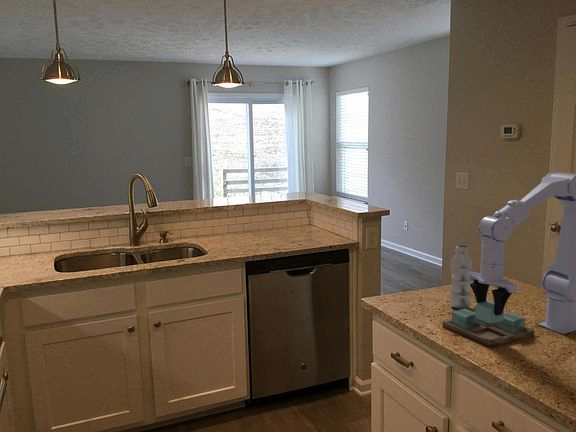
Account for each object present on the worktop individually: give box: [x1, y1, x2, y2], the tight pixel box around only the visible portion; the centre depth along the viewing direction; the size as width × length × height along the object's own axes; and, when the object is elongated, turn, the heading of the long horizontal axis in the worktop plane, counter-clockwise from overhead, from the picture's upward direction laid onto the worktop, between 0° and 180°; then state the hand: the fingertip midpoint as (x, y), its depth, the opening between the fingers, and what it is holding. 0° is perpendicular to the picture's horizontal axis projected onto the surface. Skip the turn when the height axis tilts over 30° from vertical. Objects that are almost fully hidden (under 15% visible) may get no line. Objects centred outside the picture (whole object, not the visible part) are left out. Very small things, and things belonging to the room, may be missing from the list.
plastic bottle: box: [448, 244, 473, 310], centre depth 163 cm, size 6×7×20 cm
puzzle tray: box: [442, 305, 535, 349], centre depth 144 cm, size 17×17×5 cm
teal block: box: [475, 300, 505, 324], centre depth 138 cm, size 5×5×4 cm
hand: (489, 311), depth 138 cm, fingers closed on teal block, 5 cm apart
